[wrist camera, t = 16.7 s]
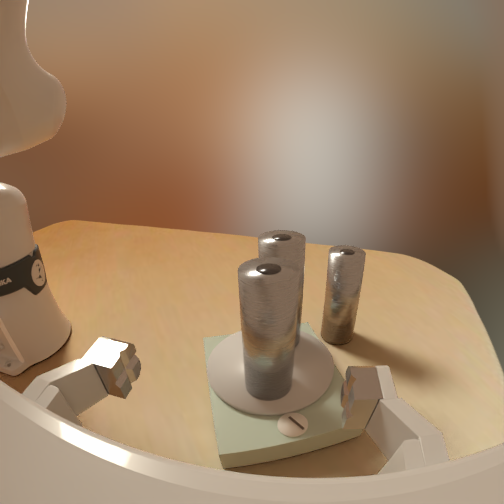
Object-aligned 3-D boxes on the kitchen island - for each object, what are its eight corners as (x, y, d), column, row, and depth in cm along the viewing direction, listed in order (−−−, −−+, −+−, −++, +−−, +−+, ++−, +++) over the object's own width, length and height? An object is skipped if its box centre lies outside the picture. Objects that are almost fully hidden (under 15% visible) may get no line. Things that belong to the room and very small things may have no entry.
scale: (222, 468, 20) (218, 451, 18) (206, 356, 34) (202, 333, 33) (360, 435, 22) (369, 414, 20) (306, 340, 36) (308, 318, 35)
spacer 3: (328, 347, 35) (339, 261, 30) (316, 328, 39) (323, 246, 34) (357, 340, 36) (372, 256, 31) (343, 322, 40) (354, 243, 35)
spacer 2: (250, 404, 23) (243, 286, 18) (241, 371, 27) (233, 259, 22) (297, 395, 24) (308, 278, 19) (284, 364, 28) (288, 254, 23)
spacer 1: (265, 355, 29) (264, 247, 25) (256, 330, 33) (253, 232, 29) (305, 347, 30) (312, 242, 25) (292, 325, 34) (296, 228, 29)
